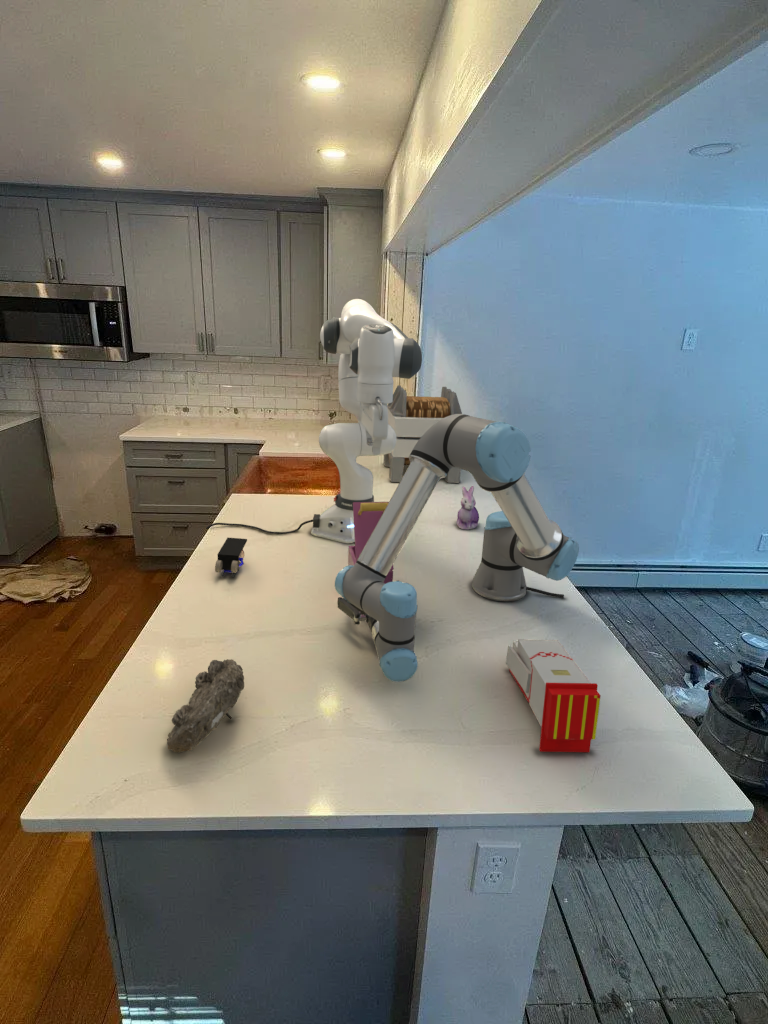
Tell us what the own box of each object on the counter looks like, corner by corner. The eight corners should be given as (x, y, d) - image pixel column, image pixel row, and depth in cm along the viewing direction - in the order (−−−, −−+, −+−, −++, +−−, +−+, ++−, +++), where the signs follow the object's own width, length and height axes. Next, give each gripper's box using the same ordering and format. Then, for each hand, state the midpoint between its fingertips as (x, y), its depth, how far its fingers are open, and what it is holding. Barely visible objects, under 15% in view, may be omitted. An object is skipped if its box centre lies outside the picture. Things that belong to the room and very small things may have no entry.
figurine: (464, 532, 204) (468, 492, 199) (449, 522, 212) (452, 484, 207) (486, 528, 208) (490, 489, 203) (469, 519, 216) (473, 481, 211)
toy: (554, 622, 128) (610, 691, 98) (548, 677, 130) (601, 759, 101) (501, 621, 127) (541, 690, 98) (496, 676, 130) (534, 758, 101)
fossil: (192, 660, 117) (244, 628, 112) (224, 691, 120) (276, 661, 115) (142, 746, 98) (202, 712, 93) (182, 779, 101) (242, 748, 96)
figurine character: (238, 584, 162) (249, 557, 175) (236, 562, 158) (247, 536, 172) (215, 584, 161) (227, 556, 175) (212, 561, 158) (225, 535, 171)
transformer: (382, 463, 289) (386, 382, 275) (445, 464, 293) (451, 384, 279) (390, 482, 257) (394, 392, 243) (460, 483, 261) (468, 394, 247)
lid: (352, 503, 149) (356, 493, 140) (388, 502, 150) (394, 493, 142) (356, 571, 144) (360, 565, 136) (392, 570, 146) (399, 564, 137)
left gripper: (395, 401, 130) (392, 459, 135) (380, 388, 149) (378, 440, 154) (368, 400, 129) (366, 460, 133) (356, 388, 148) (355, 440, 152)
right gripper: (332, 647, 128) (325, 601, 148) (438, 640, 132) (417, 596, 152) (333, 618, 125) (325, 575, 145) (441, 612, 130) (419, 571, 150)
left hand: (372, 449), depth 144 cm, fingers open, 8 cm apart
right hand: (372, 586), depth 149 cm, fingers open, 13 cm apart
